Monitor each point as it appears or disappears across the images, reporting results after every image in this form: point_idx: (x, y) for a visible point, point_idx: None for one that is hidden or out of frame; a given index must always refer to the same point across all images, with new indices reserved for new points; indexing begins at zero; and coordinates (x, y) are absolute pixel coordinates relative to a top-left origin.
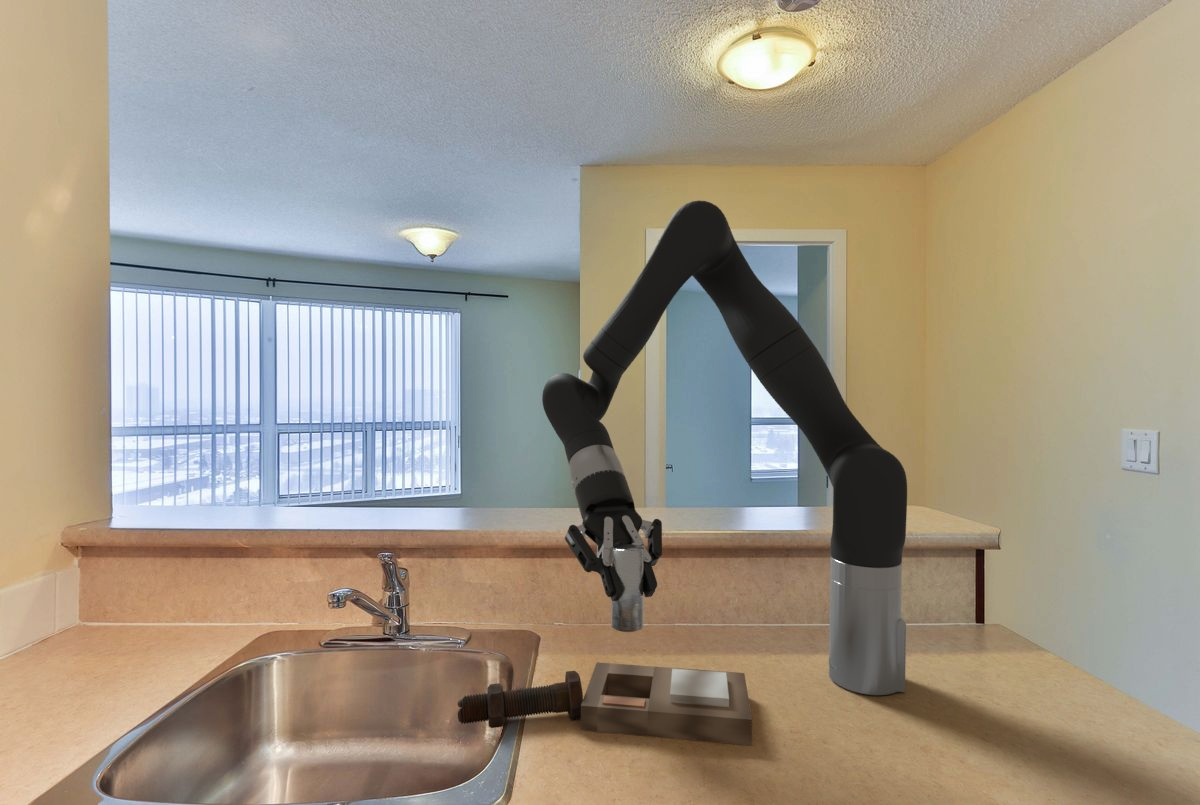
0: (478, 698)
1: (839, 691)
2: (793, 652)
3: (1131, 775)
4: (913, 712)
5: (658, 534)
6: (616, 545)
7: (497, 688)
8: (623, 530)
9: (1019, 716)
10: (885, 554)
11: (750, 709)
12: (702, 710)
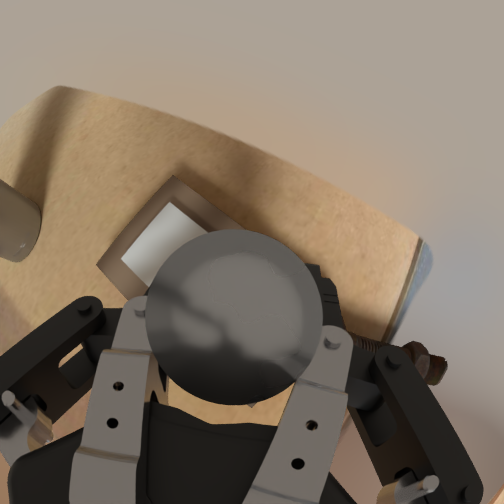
0: (432, 366)
1: (45, 227)
2: (16, 313)
3: (52, 97)
4: (44, 175)
5: (15, 358)
6: (258, 399)
7: (420, 366)
8: (156, 472)
9: (19, 150)
10: None
11: (157, 191)
12: (205, 213)
